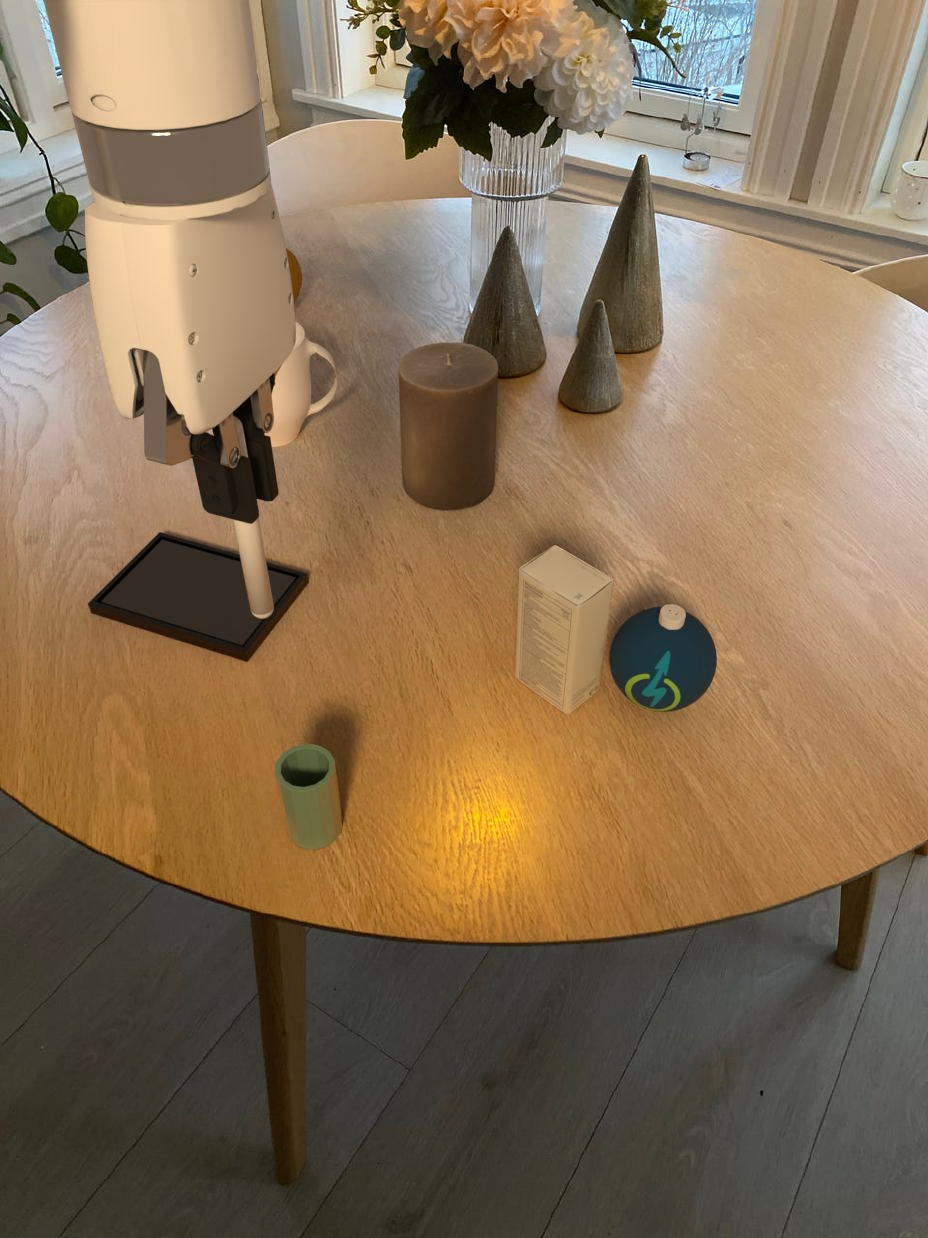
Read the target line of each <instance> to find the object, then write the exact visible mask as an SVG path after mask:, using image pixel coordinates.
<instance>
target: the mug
mask: <svg viewBox="0 0 928 1238" xmlns="http://www.w3.org/2000/svg"><path fill="white" fill-rule="evenodd" d="M315 354H317V355H319V356H321V357H322V358H323V359H326V361H328V362H329V364H330V365H331V367H332V368H333V370H334V372H335V379H334V382H333V385H332V387H331V388H330V390H329V391H328V392H327V394H325V395H324V396H323V397H322V398H321V399H319V400H318V401H316V402H315V403H312V402H311V401H312V381H311V380H312V377H311V365H310V364H311V357H312V356H313V355H315ZM275 378H276V379H275V386H274V387H273V391H272V395H271V396H272V404H273V413H274V424H273V427H272V429H271V431H270V432H269V433H265V435H266V436H270V438H271V445H272V448H278V447H279V448H280V447H284V446H287V445H289V444H291V443H293V442H294V441H296V439H297V438H298V436H299V435H300V431H301V428H302V426H303V424H304V422H305V420H306V418H308V417H309V416H310V415H312V414H317V413H319V412H320V411H322V410H323V409H324V408H325V407H327V406H328V405H329V404H330V403H331V401H332V400H333V399H334V396H335V394H336V392H337V388H338V374H337V367H336V362H335V360H334V358H333V356H332V354H331V353H330V351H328V350H327V349H326V348H324V347H323V346H321V345H320V344H318V343H316V342H313V341H310V340H309V339H308V338H307V337H306V332H305V329H304V327H303V326H302V325H301V323H299V322H298V321H296V341H295V345H294V348H293V350H292V352H291V354H290V355H289V357H288V358H287V359H286V360H285V362H284V363H283V364H282V366H281V368H280V369H279V371H278V373H277V375H276V377H275Z"/></svg>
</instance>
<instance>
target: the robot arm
mask: <svg viewBox="0 0 928 1238" xmlns="http://www.w3.org/2000/svg"><path fill="white" fill-rule="evenodd" d="M42 2H43V5H44V9H45V12H46V16H47V20H48V25H49V28H50V33H51V37H52V40H53V44H54V49H55V52H56V56H57V61H58V64H59V69H60V72H61V77H62V81H63V85H64V88H65V92H66V96H67V100H68V104H69V108H70V110H71V114H72V115H71V116H72V119H73V123H74V126H75V131H76V135H77V139H78V144H79V147H80V151H81V155H82V159H83V163H84V167H85V171H86V175H87V179H88V184H89V189H90V191H91V196H92V198H93V202H91V203H89V204H88V205H87V206H86V207H85V208H84V238H85V251H86V265H87V271H88V273H87V274H88V279H89V280H88V281H89V288H90V289H89V290H90V296H91V302H92V308H93V314H94V320H95V325H96V330H97V335H98V340H99V346H100V350H101V355H102V359H103V365H104V369H105V373H106V377H107V381H108V386H109V389H110V392H111V396H112V399H113V403H114V405H115V408H116V411H117V412H118V414H119V416H120V417H121V418H123V419H127V420H134V419H137V418H139V417H141V416H143V449H144V450H143V451H144V452H143V453H144V457H145V459H146V460H147V461H149V462H154V463H158V464H162V465H166V466H170V467H173V466H176V465H178V464H181V463H183V462H187V461H189V460H191V459H192V464H193V469H194V473H195V478H196V482H197V487H198V492H199V496H200V500H201V505H202V508H203V510H204V511H205V512H206V513H208V514H211V515H214V516H218V517H222V518H225V519H229V520H232V521H233V520H237V521H241V522H245V523H249V524H253V523H254V522H255V521H256V520H257V518H259V517H260V509H259V504H258V501H259V500H260V501H263V502H273V501H274V500H275V499H276V498H277V497H278V496H279V493H280V492H279V486H278V485H279V484H278V479H277V472H276V466H275V459H274V451H273V447H272V445H271V438H270V436H266V435H265V433H269V432H270V431H271V429H272V427H273V424H274V413H273V404H272V396H271V395H272V391H273V387H274V386H275V379H276V378H275V377H276V375H277V373H278V371H279V369H280V368H281V366H282V364H283V363H284V362H285V360H286V359H287V358H288V357H289V355H290V354H291V352H292V350H293V348H294V345H295V341H296V322H297V319H296V307H295V305H294V298H293V290H292V283H291V275H290V269H289V263H288V257H287V251H286V248H287V247H286V241H285V236H284V231H283V226H282V221H281V217H280V213H279V209H278V204H277V201H276V197H275V192H274V189H273V185H272V177H271V168H270V159H269V150H268V143H267V135H266V133H267V132H266V125H265V118H264V110H263V102H262V101H263V100H262V98H261V97H262V94H261V87H260V86H261V85H260V79H259V74H258V62H257V53H256V46H255V37H254V30H253V29H254V28H253V22H252V13H251V6H250V5H251V4H250V0H42ZM233 416H235V417H237V418H238V419H239V420H240V421H241V423H242V426H243V431H244V437H245V443H246V448H247V454H248V458H247V457H245V456H241V450H240V445H239V441H238V436H237V431H236V427H235V422H234V417H233ZM209 431H212V434H211V433H209Z"/></svg>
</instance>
